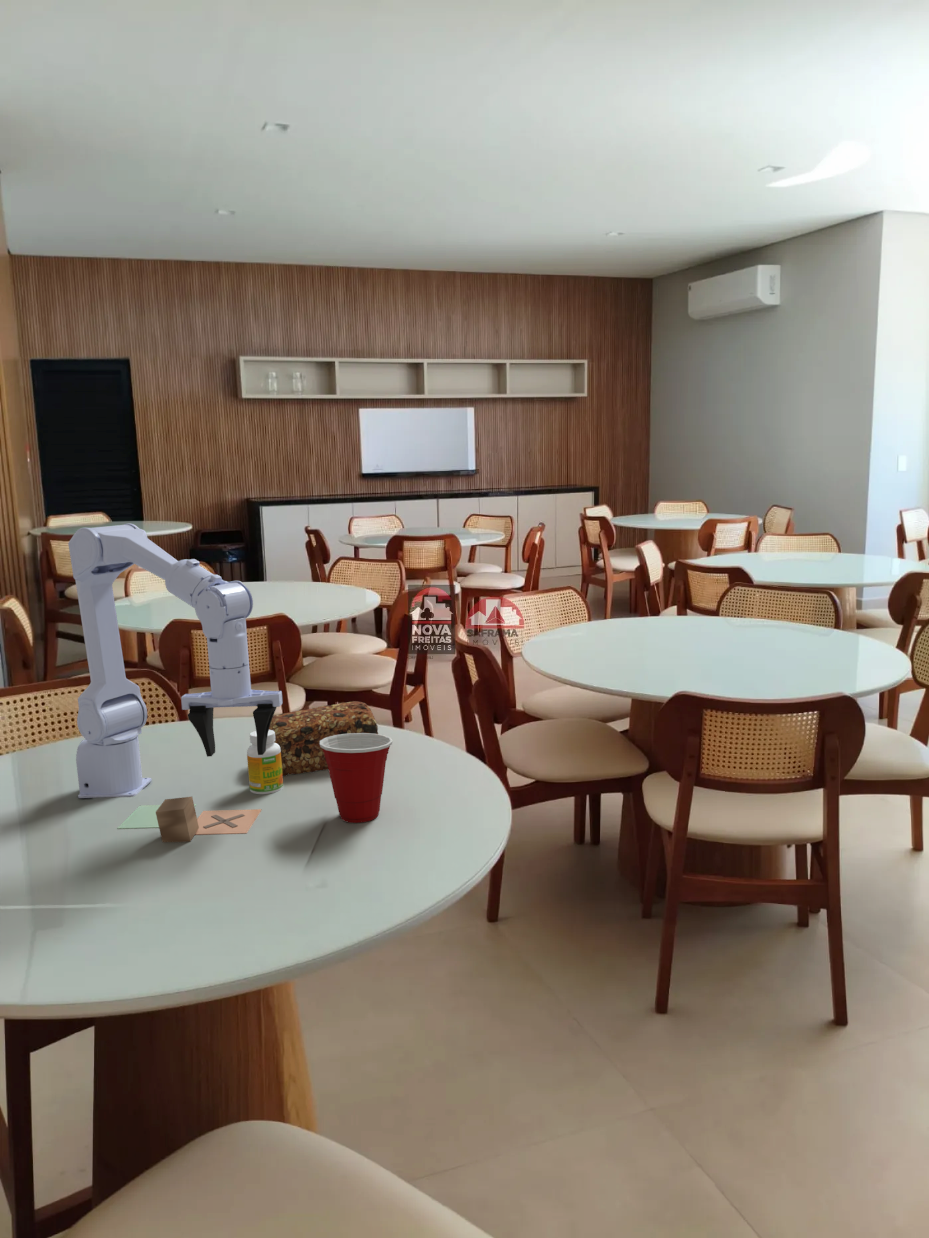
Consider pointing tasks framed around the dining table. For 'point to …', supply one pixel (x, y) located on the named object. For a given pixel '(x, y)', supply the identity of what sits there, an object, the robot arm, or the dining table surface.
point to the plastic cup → (357, 773)
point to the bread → (317, 733)
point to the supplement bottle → (264, 766)
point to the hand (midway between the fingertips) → (236, 753)
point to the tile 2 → (226, 821)
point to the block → (177, 820)
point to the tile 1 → (142, 818)
